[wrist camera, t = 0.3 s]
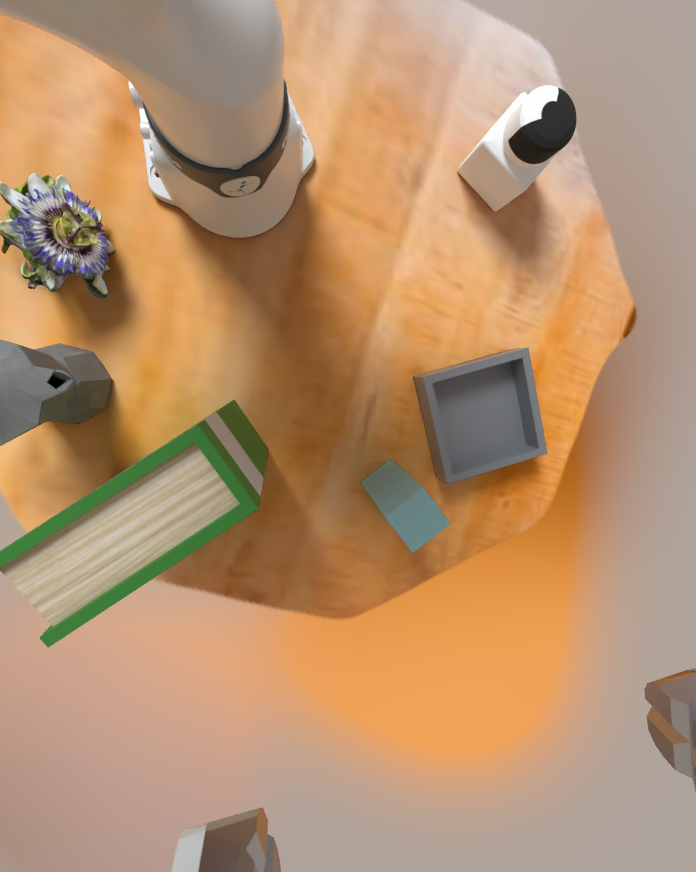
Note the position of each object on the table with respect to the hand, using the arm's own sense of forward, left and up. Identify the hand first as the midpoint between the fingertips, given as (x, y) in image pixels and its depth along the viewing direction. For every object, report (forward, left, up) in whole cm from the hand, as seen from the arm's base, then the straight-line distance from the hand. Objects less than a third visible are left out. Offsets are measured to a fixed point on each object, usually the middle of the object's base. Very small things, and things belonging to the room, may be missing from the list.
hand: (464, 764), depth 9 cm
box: (+4, +22, -48) cm, 52 cm away
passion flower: (-27, -20, -48) cm, 59 cm away
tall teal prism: (+10, +8, -48) cm, 49 cm away
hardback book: (0, -15, -48) cm, 50 cm away
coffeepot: (-13, -26, -48) cm, 56 cm away
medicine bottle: (-25, +31, -48) cm, 62 cm away
